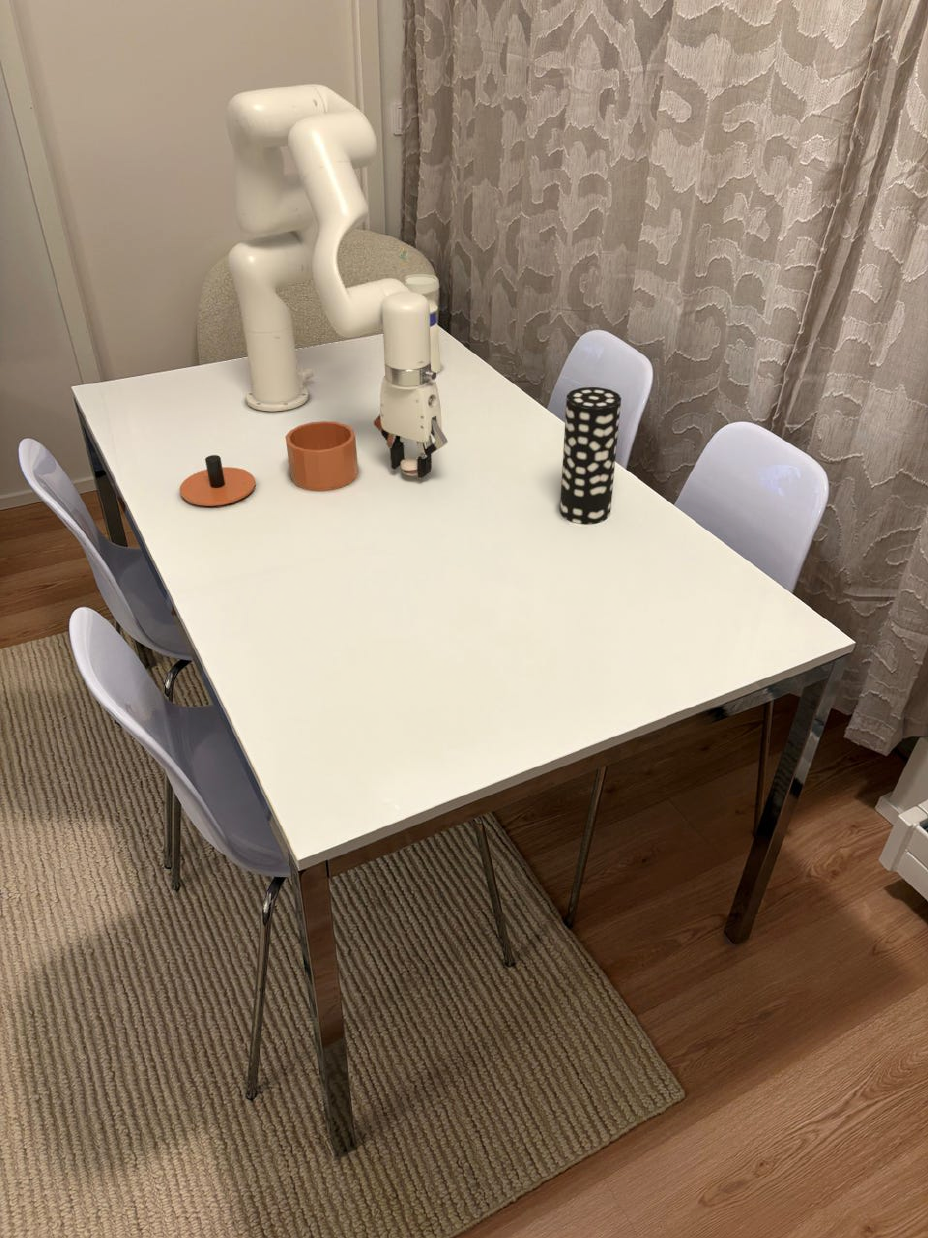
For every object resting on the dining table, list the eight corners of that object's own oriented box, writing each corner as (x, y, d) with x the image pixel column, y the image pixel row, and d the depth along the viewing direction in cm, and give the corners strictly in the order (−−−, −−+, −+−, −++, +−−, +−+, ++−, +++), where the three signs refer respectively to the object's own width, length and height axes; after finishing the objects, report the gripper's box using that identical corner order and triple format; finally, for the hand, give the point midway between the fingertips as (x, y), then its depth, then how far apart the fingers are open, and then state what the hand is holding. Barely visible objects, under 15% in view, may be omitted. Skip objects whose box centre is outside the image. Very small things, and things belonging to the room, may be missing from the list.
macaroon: (410, 481, 162) (409, 468, 160) (392, 470, 165) (392, 457, 163) (429, 473, 164) (429, 460, 162) (411, 462, 167) (411, 449, 165)
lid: (218, 466, 169) (212, 435, 166) (271, 484, 164) (266, 452, 160) (164, 496, 161) (157, 464, 157) (219, 516, 155) (212, 483, 151)
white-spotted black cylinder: (616, 504, 157) (628, 392, 145) (601, 528, 151) (611, 412, 139) (569, 494, 160) (577, 383, 148) (552, 517, 154) (558, 403, 142)
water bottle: (399, 375, 202) (393, 255, 187) (408, 360, 209) (402, 243, 194) (437, 377, 201) (433, 257, 186) (444, 362, 208) (441, 245, 193)
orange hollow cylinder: (320, 453, 173) (316, 415, 168) (371, 469, 168) (368, 431, 163) (277, 479, 165) (271, 440, 160) (329, 497, 160) (324, 457, 155)
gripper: (464, 375, 152) (463, 474, 163) (380, 353, 159) (385, 449, 170) (438, 392, 147) (439, 493, 158) (352, 367, 154) (359, 466, 165)
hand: (411, 469), depth 164 cm, fingers closed on macaroon, 5 cm apart
